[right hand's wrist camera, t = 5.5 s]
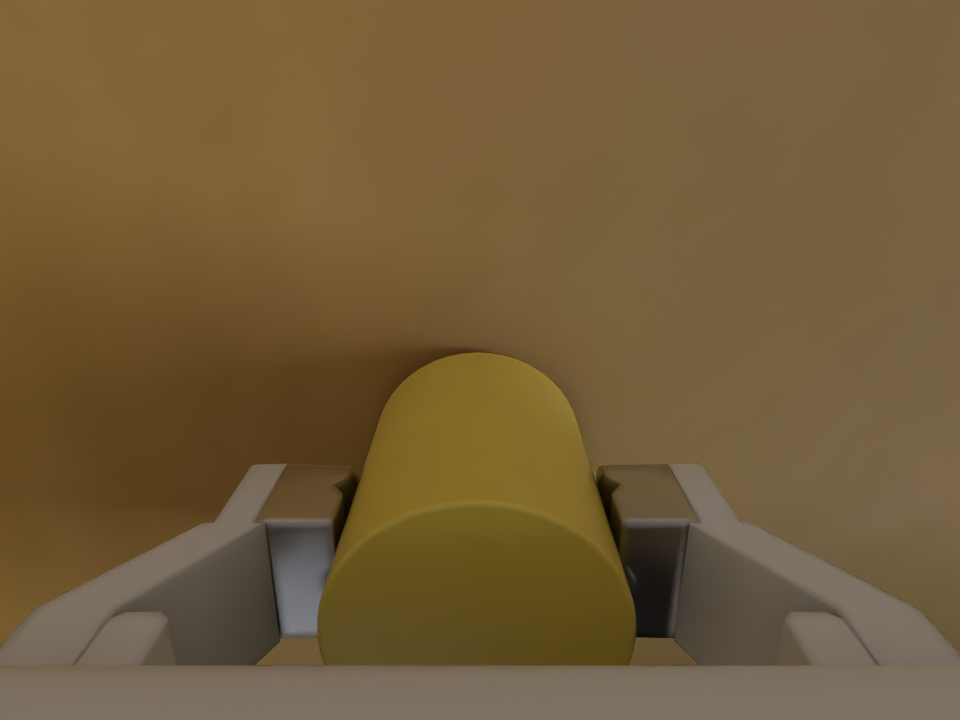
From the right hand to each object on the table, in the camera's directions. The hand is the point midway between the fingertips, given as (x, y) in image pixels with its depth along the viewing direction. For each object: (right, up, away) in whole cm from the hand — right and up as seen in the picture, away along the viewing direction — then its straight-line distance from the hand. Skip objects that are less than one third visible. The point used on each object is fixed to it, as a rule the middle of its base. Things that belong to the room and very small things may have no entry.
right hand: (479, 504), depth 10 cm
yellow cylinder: (0, +1, +2) cm, 2 cm away
